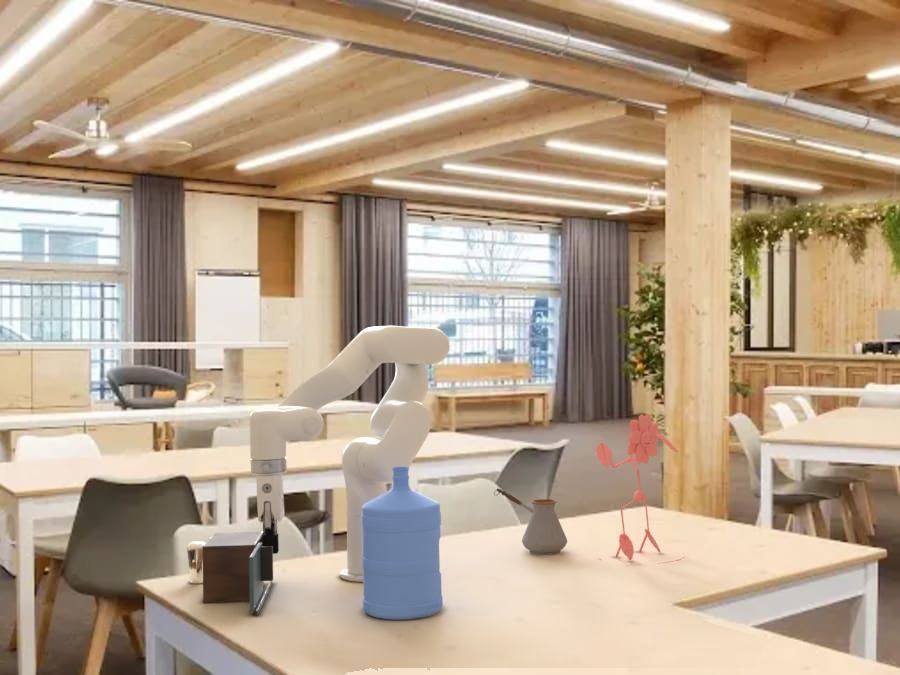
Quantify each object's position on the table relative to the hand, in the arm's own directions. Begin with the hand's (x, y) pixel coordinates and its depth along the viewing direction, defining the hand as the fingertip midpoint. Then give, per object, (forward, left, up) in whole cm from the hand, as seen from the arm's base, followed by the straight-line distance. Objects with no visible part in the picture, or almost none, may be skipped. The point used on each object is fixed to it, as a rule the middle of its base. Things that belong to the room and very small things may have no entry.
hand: (270, 552), depth 211 cm
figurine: (-89, -22, -9) cm, 92 cm away
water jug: (-28, +19, -9) cm, 34 cm away
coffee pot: (-62, -38, -9) cm, 73 cm away
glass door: (+1, +11, -8) cm, 13 cm away
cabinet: (+7, +5, -9) cm, 12 cm away
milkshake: (+17, -13, -9) cm, 24 cm away
